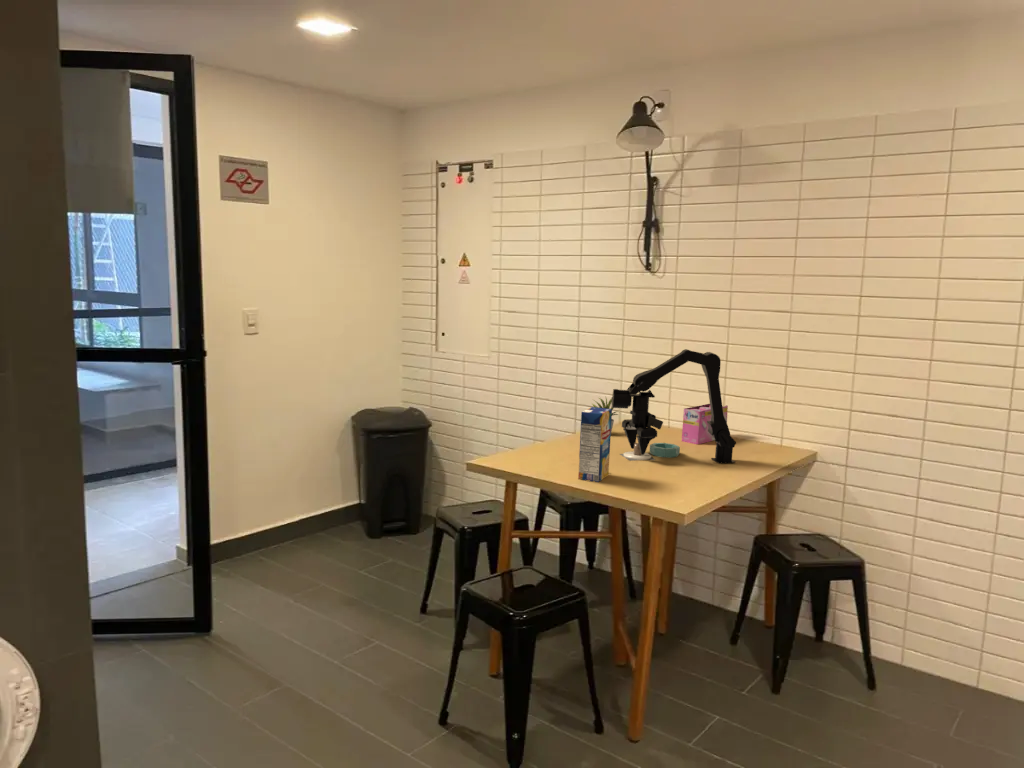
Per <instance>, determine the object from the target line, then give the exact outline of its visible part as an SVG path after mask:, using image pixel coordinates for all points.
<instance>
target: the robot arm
mask: <svg viewBox="0 0 1024 768" xmlns="http://www.w3.org/2000/svg"><path fill="white" fill-rule="evenodd" d="M688 362H690V363H695V364H698V365H701V368H702V371H703V373H704V376H705V378H706V386H707V393H708V400H709V404H710V408H711V421H707V424H708V432H709V433H710V434H711V436H712V437H713V438H714V439H715V440H714V442H715V455H714V457H711V458H710V459H711V460H712V461H714V462H716V463H718V464H736V461H735V460H733V452H734V451H733V450H734V449H733V448H735V445H736V444H737V441H735V439H734V438H733V437H732V436H731V431H730V429H729V425H728V421H727V422H726V420H725V418H724V415H723V407H724V406H723V402H722V393H721V386H720V379H719V377H720V372H721V364H722V363H721V357H720V356H719V355H718V354H716V353H713V352H711V351H706V352H698V351H694V350H690V349H683V350H681V352H679V353H677V354H675V355H673V356H672V357H670V358H669V359H667V360H665V361H664V362H662V363H661V364H658V365H657V366H656V367H654V368H651V369H647V370H645V371H643V372H639V373H637V374H636V375H635V376H634V377H633V380H632V383H631V384H630V385H629V386H628V388H627V389H618V388H614V389H613V390H612V395H611V396H612V397H611V398H612V402H611V406H612V408H613V409H628V408H630V407H631V406H632V410H629V414H630V415H631V419H624V420H622V421H621V428H622V429H623V431H624V434H625V436H626V438H627V441H628V443H629V446H630V449H633V450H634V443H639V447H640V451H641V454H642V455H644V454H645V453H647V452H646V451H647V449H648V446H649V444H650V442H651V441H652V440H654V439H655V438H657V437H658V431H657V430H661V429H662V426H663V424H664V421H662V420H660V419H658V418H656V417H657V416H656V415H655V414H653V413H651V412H649V408H650V406H649V404H650V398H653V399H654V398H656V396H655V394H653V392H652V391H651V388H652V387H653V386H654V385H655V384H656V383H657V382H658V381H659V380H661V378H663V377H665V376H666V375H668V374H670V373H671V372H673V371H675V370H676V369H678V368H680V367H681V366H683V365H684V364H686V363H688ZM722 406H723V407H722ZM656 429H657V430H656Z"/></svg>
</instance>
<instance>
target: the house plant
mask: <svg viewBox="0 0 1024 768" xmlns="http://www.w3.org/2000/svg"><path fill="white" fill-rule="evenodd" d="M598 400H599V401H600V402H601V404H602V405H601V404H600V403H599V402H598V401H596V400H595V399H593V401H594V402H595V403H596V404H597V405H598V406H597V405H596V404H594V403H591V405H592V407H597V408H606V409H612V417H613V416H619V414H621V412H620V411H614V412H613V409H614V408H612V403H611V402H612V397H611V398H610V399H609V401H608V398H607V396H605V401H604V400H603V399H602V398H601V397H598ZM618 413H619V414H618ZM614 422H615V420H614V419H613V418H612V419H611V433H612V432H613V426H614Z"/></svg>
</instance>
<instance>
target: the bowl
mask: <svg viewBox="0 0 1024 768" xmlns="http://www.w3.org/2000/svg"><path fill="white" fill-rule="evenodd" d="M680 448H681V446H679V445H677V444H674V443H668V442H667V443H666V442H654V443H651V444H650V445H649V454H650V455H651V456H654V457H659V458H677V457H678V456H679V455H680V450H681V449H680Z"/></svg>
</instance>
